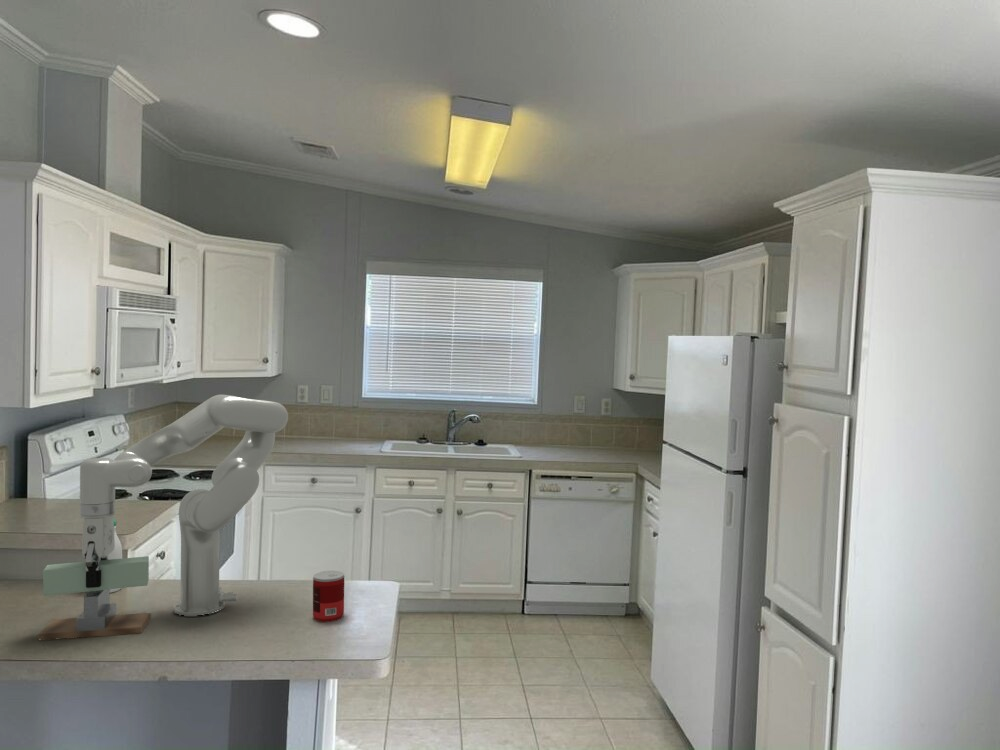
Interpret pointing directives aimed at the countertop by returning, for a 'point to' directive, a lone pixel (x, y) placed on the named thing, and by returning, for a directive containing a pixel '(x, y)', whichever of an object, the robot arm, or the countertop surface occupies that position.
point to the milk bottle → (115, 551)
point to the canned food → (328, 596)
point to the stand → (96, 620)
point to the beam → (112, 575)
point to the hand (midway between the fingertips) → (97, 582)
